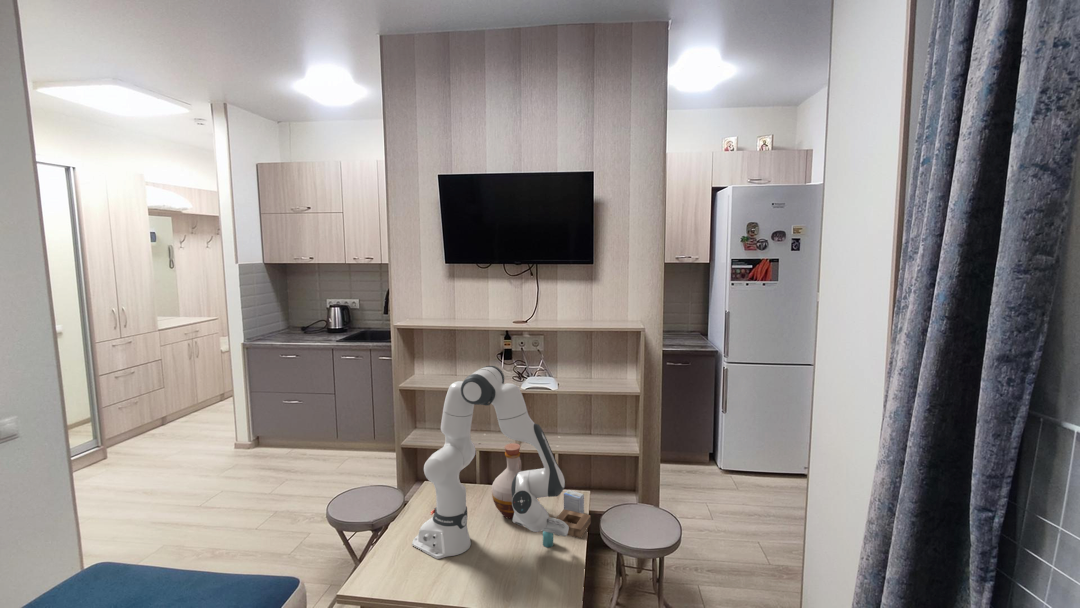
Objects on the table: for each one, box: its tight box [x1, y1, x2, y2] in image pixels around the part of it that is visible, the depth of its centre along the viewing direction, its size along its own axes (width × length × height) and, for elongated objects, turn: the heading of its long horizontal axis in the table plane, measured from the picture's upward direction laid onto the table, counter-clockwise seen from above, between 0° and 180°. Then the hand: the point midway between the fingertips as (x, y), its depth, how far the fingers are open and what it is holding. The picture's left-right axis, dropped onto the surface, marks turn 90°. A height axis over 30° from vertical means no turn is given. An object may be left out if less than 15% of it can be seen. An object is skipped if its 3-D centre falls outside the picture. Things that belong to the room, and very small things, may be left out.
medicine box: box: [563, 489, 585, 514], centre depth 203 cm, size 8×4×9 cm, turn 58°
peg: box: [542, 531, 554, 548], centre depth 179 cm, size 4×4×8 cm
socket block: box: [555, 508, 592, 539], centre depth 192 cm, size 12×12×4 cm
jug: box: [491, 442, 522, 520], centre depth 202 cm, size 20×18×30 cm
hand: (547, 530), depth 178 cm, fingers open, 8 cm apart
